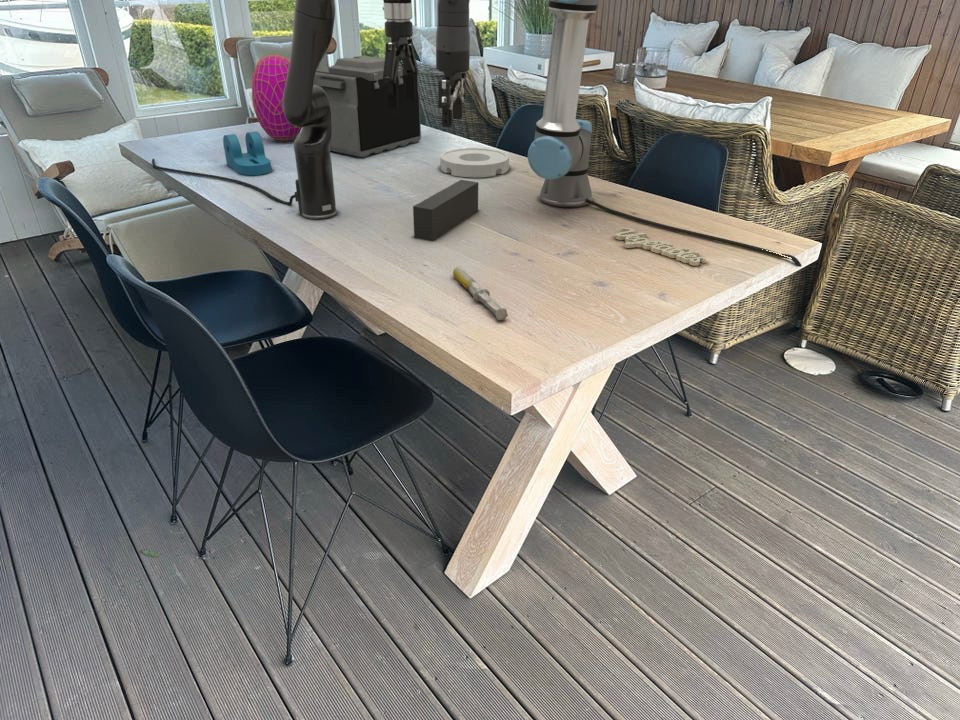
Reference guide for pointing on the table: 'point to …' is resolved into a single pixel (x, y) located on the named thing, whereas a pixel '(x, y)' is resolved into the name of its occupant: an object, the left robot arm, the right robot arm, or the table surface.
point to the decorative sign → (659, 247)
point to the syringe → (479, 293)
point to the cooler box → (368, 107)
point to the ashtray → (474, 162)
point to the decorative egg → (272, 97)
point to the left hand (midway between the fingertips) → (452, 122)
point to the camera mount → (246, 154)
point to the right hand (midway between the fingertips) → (402, 103)
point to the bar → (445, 210)
